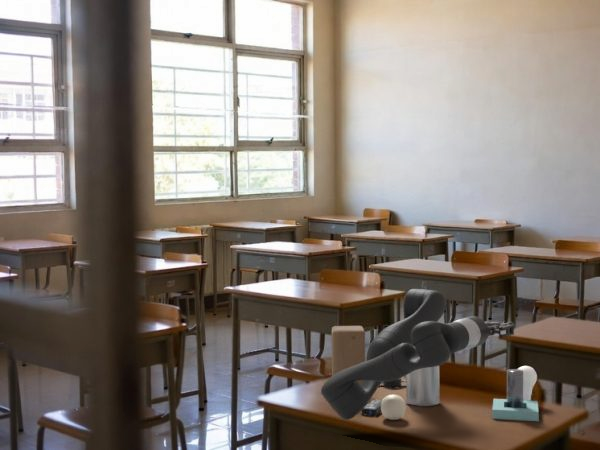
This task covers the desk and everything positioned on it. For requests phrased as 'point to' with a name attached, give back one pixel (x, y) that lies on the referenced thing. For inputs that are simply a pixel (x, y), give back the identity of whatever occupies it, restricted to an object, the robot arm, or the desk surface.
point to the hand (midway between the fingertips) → (497, 324)
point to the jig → (515, 411)
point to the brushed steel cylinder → (514, 388)
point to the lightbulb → (528, 381)
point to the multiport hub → (372, 408)
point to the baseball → (393, 407)
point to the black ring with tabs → (393, 383)
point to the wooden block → (347, 347)
